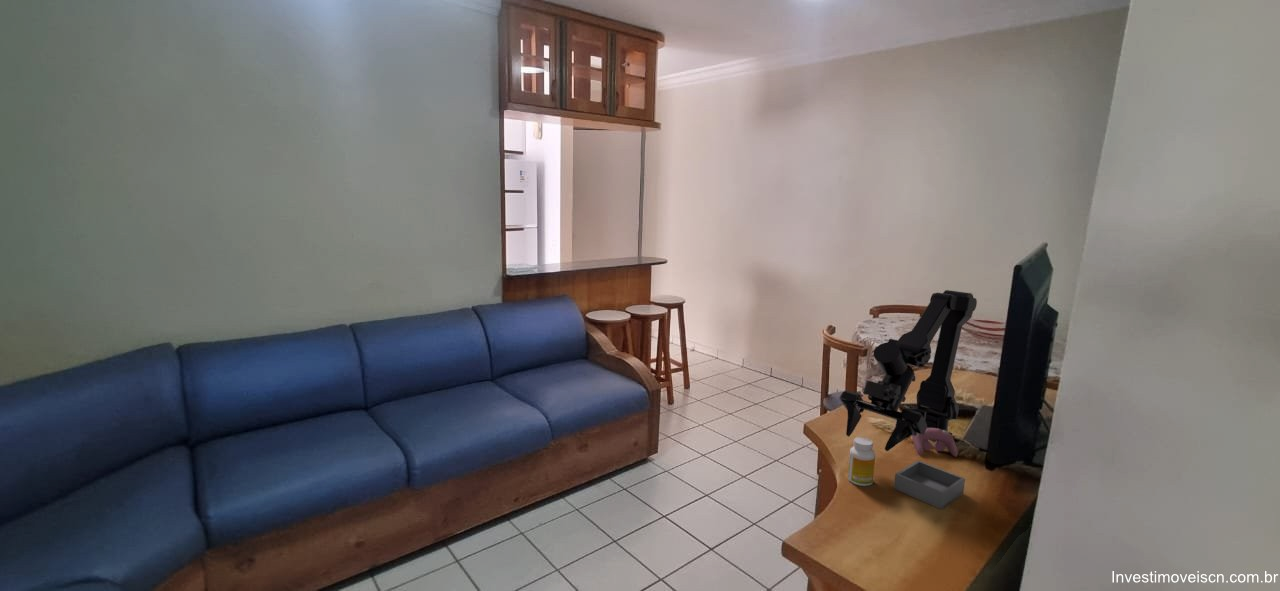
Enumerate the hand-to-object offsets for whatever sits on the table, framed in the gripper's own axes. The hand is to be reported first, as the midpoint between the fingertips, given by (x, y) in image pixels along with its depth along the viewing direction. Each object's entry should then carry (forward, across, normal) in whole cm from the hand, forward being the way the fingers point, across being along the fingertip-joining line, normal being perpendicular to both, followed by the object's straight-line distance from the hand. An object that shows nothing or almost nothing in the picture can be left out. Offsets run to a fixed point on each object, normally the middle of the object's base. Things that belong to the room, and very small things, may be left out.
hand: (866, 442), depth 123 cm
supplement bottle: (+7, 0, +6) cm, 9 cm away
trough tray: (+2, +12, +11) cm, 16 cm away
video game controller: (-12, +4, +25) cm, 28 cm away
